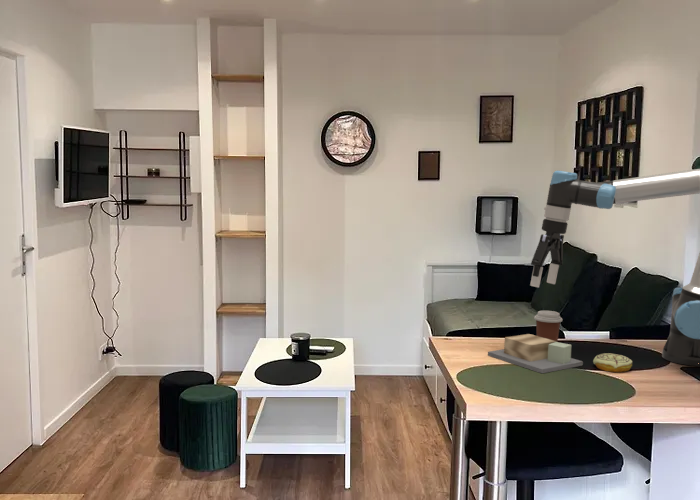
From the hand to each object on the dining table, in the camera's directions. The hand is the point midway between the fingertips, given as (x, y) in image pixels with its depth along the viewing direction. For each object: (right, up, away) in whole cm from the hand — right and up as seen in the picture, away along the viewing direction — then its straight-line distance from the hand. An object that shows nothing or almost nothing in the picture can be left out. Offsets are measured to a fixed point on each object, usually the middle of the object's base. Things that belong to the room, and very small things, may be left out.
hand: (542, 284), depth 211 cm
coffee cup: (+4, -22, +9) cm, 24 cm away
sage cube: (+1, -22, -12) cm, 25 cm away
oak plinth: (-6, -22, -6) cm, 23 cm away
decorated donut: (+17, -25, -14) cm, 33 cm away
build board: (-5, -23, -7) cm, 25 cm away
